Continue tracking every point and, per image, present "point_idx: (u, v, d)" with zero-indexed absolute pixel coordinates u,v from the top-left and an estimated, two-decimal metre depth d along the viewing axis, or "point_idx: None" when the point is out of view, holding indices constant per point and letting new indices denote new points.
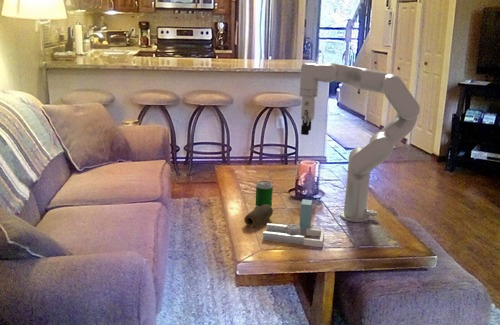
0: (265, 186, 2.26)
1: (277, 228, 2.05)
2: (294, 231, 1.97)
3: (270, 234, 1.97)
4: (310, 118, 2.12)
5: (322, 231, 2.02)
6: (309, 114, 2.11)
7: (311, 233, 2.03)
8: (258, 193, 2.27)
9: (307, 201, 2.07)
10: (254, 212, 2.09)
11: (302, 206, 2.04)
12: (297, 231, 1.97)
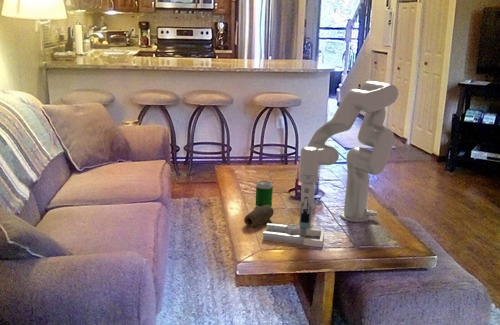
0: (265, 186, 2.26)
1: (277, 228, 2.05)
2: (294, 231, 1.97)
3: (270, 234, 1.97)
4: (310, 205, 2.01)
5: (322, 231, 2.02)
6: (309, 201, 2.00)
7: (311, 233, 2.03)
8: (258, 193, 2.27)
9: None
10: (254, 212, 2.09)
11: None
12: (297, 231, 1.97)
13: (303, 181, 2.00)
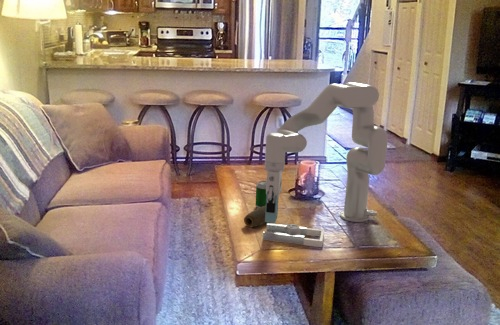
0: (265, 186, 2.26)
1: (277, 228, 2.05)
2: (294, 231, 1.97)
3: (270, 234, 1.97)
4: (276, 194, 1.92)
5: (322, 231, 2.02)
6: (274, 189, 1.91)
7: (311, 233, 2.03)
8: (258, 193, 2.27)
9: None
10: (254, 212, 2.09)
11: (267, 195, 1.95)
12: (297, 231, 1.97)
13: (268, 169, 1.92)
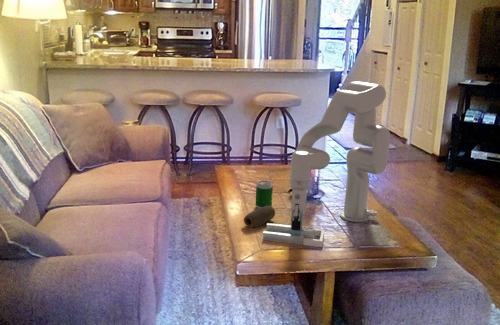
0: (265, 186, 2.26)
1: (277, 228, 2.05)
2: (306, 233, 1.95)
3: (270, 234, 1.97)
4: (301, 212, 1.92)
5: (322, 231, 2.02)
6: (300, 208, 1.91)
7: None
8: (258, 193, 2.27)
9: None
10: (253, 213, 2.09)
11: None
12: (309, 234, 1.95)
13: (294, 187, 1.91)
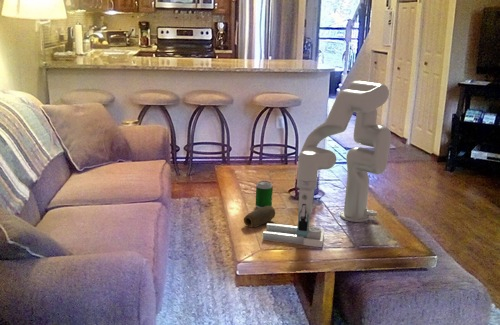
0: (265, 186, 2.26)
1: (277, 228, 2.05)
2: (313, 234, 1.95)
3: (270, 234, 1.97)
4: (308, 213, 1.91)
5: (322, 231, 2.02)
6: (307, 208, 1.90)
7: None
8: (258, 193, 2.27)
9: None
10: (253, 213, 2.09)
11: None
12: (316, 235, 1.94)
13: (301, 187, 1.91)
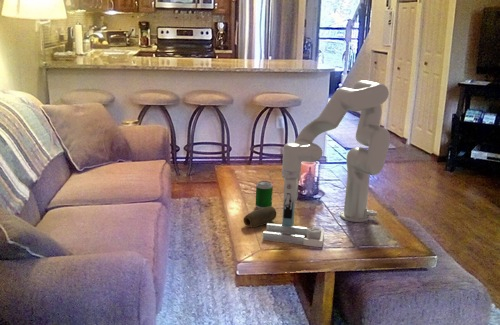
0: (265, 186, 2.26)
1: (277, 228, 2.05)
2: (313, 234, 1.95)
3: (270, 234, 1.97)
4: (293, 201, 2.02)
5: (322, 231, 2.02)
6: (291, 197, 2.01)
7: None
8: (258, 193, 2.27)
9: None
10: (253, 213, 2.08)
11: None
12: (316, 235, 1.94)
13: (286, 177, 2.02)
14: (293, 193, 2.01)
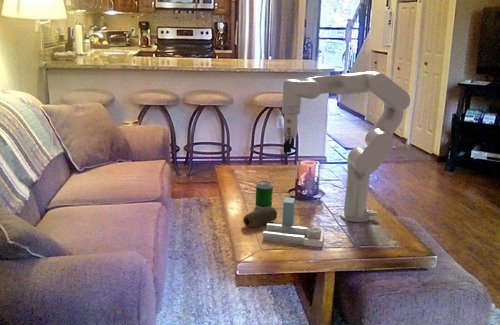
0: (265, 186, 2.26)
1: (277, 228, 2.05)
2: (313, 234, 1.95)
3: (270, 234, 1.97)
4: (292, 136, 2.07)
5: (322, 231, 2.02)
6: (291, 131, 2.07)
7: None
8: (258, 193, 2.27)
9: (290, 199, 2.08)
10: (253, 213, 2.08)
11: (284, 204, 2.05)
12: (316, 235, 1.94)
13: (285, 112, 2.07)
14: (293, 127, 2.06)
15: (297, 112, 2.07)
